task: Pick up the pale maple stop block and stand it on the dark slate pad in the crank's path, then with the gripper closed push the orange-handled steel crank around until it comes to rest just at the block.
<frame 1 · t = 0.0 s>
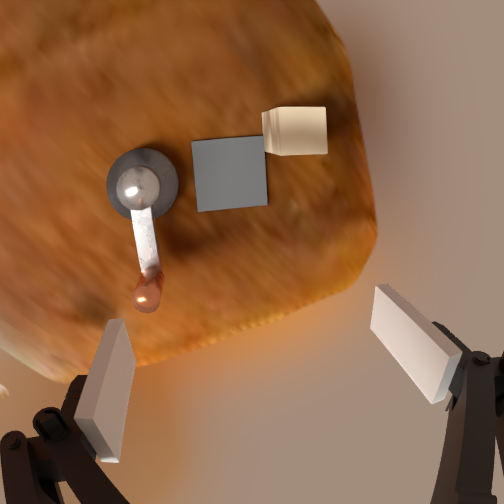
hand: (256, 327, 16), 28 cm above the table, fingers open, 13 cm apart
crank base: (144, 183, 39), on the table
crank: (141, 235, 35), point 6 cm above the table, hinge at 0.0°
stop block: (282, 131, 40), on the table
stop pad: (230, 173, 40), on the table
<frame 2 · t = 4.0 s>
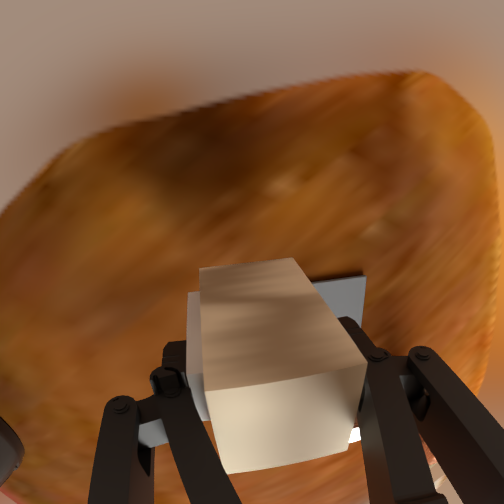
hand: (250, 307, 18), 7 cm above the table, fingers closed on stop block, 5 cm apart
crank: (372, 445, 25), point 6 cm above the table, hinge at 0.0°
stop block: (249, 304, 18), point 6 cm above the table, touching gripper
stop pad: (312, 329, 27), on the table
when the fingers open (1 cm above the table, at t = 8.0 s): stop block stays where it is, resting on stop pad.
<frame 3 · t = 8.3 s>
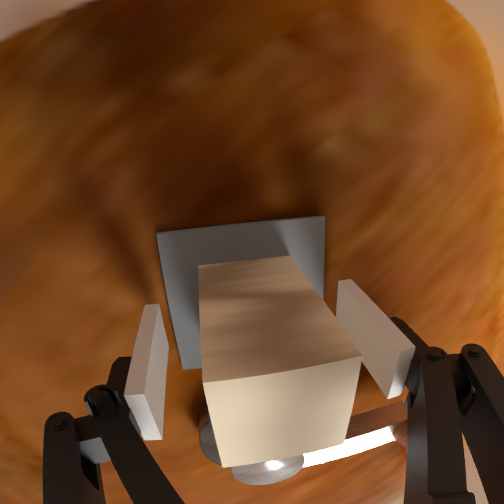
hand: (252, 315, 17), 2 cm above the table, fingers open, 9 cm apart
crank base: (257, 420, 23), on the table
crank: (347, 470, 17), point 6 cm above the table, hinge at 0.0°
stop block: (247, 301, 18), resting on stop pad
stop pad: (247, 298, 19), on the table
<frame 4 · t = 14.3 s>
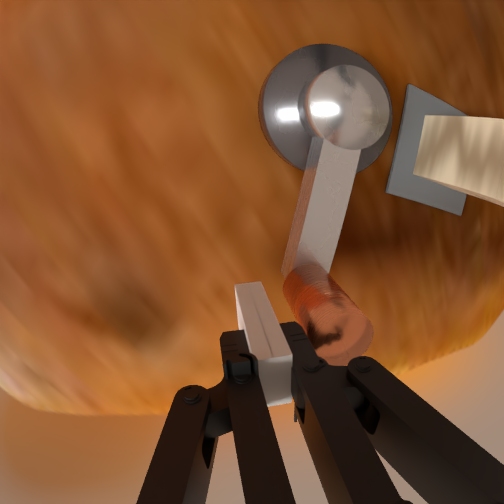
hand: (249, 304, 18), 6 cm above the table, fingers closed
crank base: (322, 111, 21), on the table
crank: (346, 196, 16), point 6 cm above the table, hinge at 0.1°, touching gripper
stop block: (440, 153, 23), resting on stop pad
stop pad: (438, 153, 23), on the table
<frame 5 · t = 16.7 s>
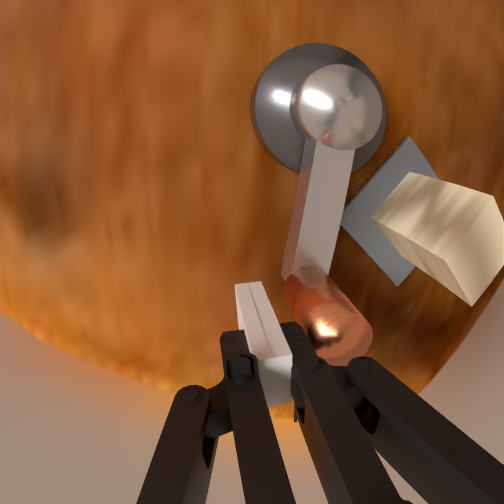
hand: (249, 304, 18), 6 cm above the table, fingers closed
crank base: (315, 111, 20), on the table
crank: (341, 198, 16), point 6 cm above the table, hinge at 34.0°, touching gripper
stop block: (406, 215, 24), resting on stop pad
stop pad: (404, 214, 24), on the table
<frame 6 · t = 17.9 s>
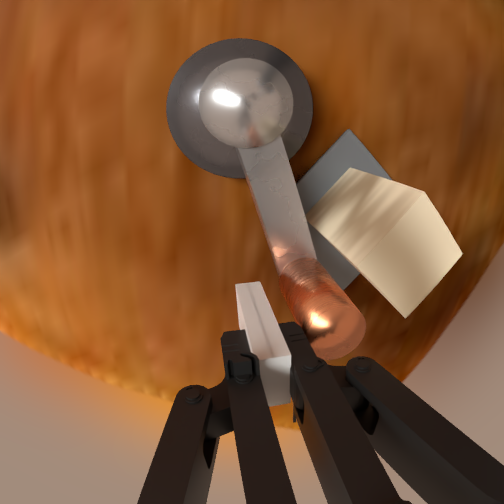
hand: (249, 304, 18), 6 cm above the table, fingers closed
crank base: (238, 108, 20), on the table
crank: (282, 194, 16), point 6 cm above the table, hinge at 61.2°, touching gripper
stop block: (348, 214, 23), resting on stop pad
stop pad: (346, 213, 24), on the table
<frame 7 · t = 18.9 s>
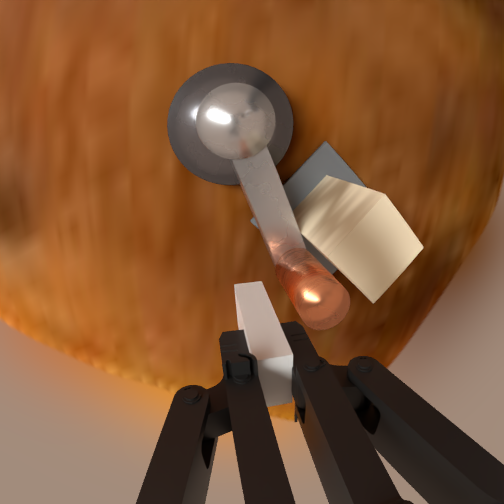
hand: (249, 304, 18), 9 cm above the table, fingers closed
crank base: (228, 124, 23), on the table
crank: (272, 196, 19), point 6 cm above the table, hinge at 65.8°
stop block: (325, 216, 27), resting on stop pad
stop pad: (323, 216, 27), on the table
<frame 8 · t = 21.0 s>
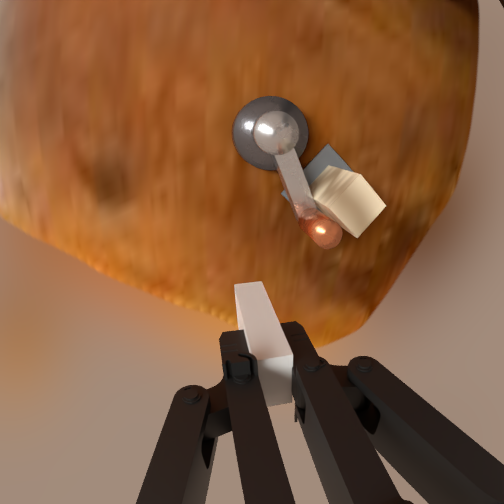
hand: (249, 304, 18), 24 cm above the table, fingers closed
crank base: (268, 133, 38), on the table
crank: (297, 175, 34), point 6 cm above the table, hinge at 65.8°
stop block: (328, 191, 42), resting on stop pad
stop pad: (327, 191, 42), on the table
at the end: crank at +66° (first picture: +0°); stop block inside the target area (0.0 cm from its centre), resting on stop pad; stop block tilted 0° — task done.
